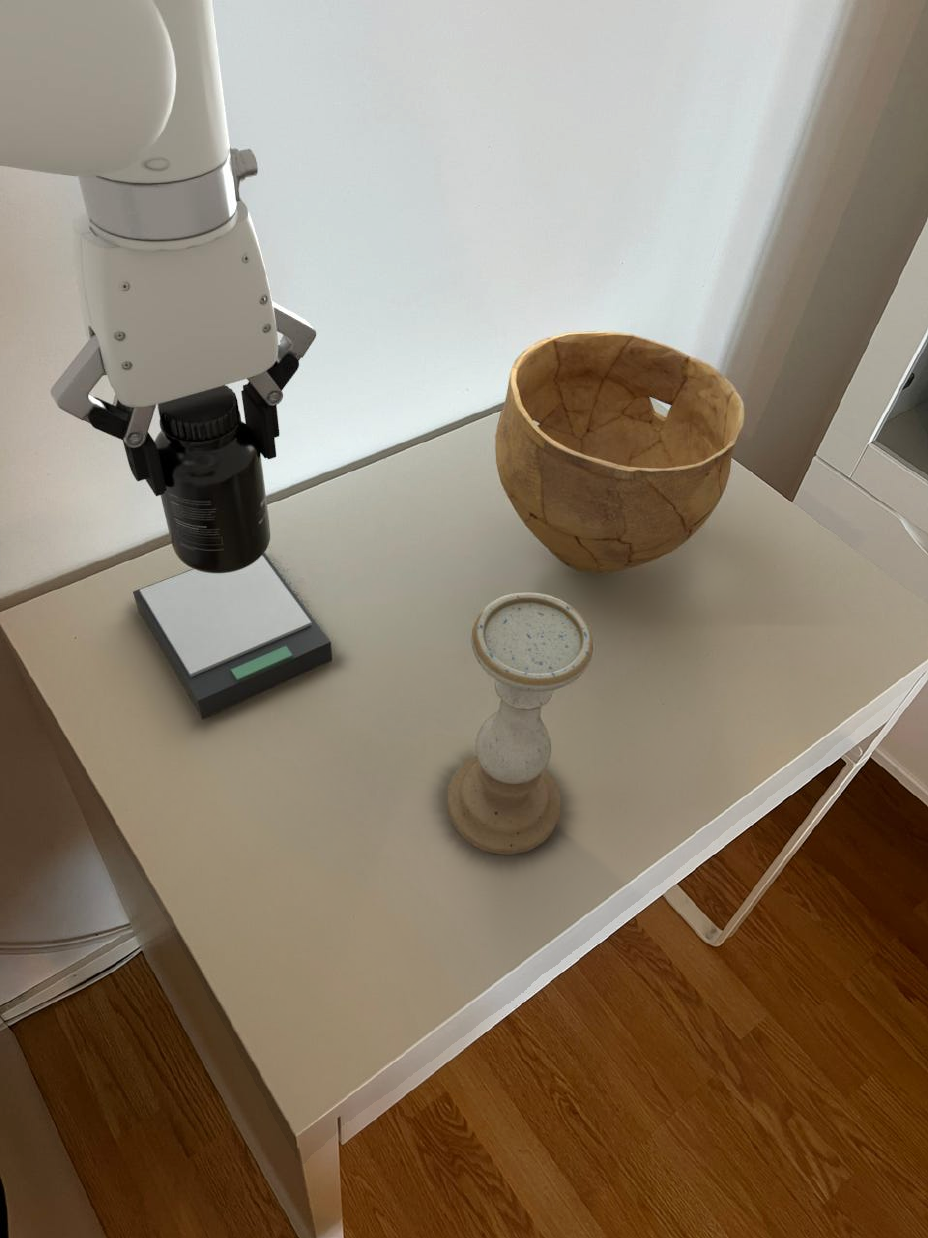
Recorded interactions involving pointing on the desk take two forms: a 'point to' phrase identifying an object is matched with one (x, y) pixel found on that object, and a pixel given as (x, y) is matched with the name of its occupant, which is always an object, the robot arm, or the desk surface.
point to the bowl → (614, 447)
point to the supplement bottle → (212, 482)
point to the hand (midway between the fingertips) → (208, 462)
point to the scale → (232, 632)
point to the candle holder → (518, 721)
